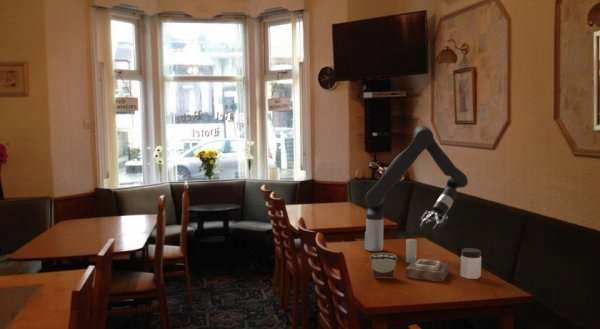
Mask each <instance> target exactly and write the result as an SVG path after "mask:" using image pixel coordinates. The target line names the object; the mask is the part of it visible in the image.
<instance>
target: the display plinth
mask: <svg viewBox="0 0 600 329" xmlns="http://www.w3.org/2000/svg"><path fill="white" fill-rule="evenodd" d="M449 270H450V264H449V263H446V262H445V263H444V262H442V261H440V260H433V259H432V260H429V259H425V258H424V259H422V258H419V259H416V260H414V261H413V262H412V263H409V265H408V266H407V267H405V277H406V278H410V279H415V280H416V279H417V280H422V281H423V280H426V281H433V282H440V283H442V282H444V280H445V279H446V277H447V276H448V274H449V272H450V271H449Z"/></svg>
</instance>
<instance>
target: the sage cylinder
mask: <svg viewBox="0 0 600 329" xmlns="http://www.w3.org/2000/svg"><path fill="white" fill-rule="evenodd" d="M417 241H418V240H416V239H413V238H407V239H406V240H405V263H407V264H411V263H412V262H413V261H414V260H417Z"/></svg>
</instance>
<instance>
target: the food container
mask: <svg viewBox="0 0 600 329" xmlns="http://www.w3.org/2000/svg"><path fill="white" fill-rule="evenodd" d="M369 260H371V271H372V278H376V279H377V278H378V279H380V278H381V279H383V278H385V279H389V278H390V279H394V278H395V274H396V272H395V271H396V265H397V261H398V257H397V254H394V253H391V252H375V253H372V254H370V257H369Z"/></svg>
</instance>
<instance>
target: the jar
mask: <svg viewBox="0 0 600 329" xmlns="http://www.w3.org/2000/svg"><path fill="white" fill-rule="evenodd" d="M481 255H482V251H481V250H480V249H479V248H472V247H465V248H462V249H461V256H460V277H463V278H465V279H469V280H470V279H471V280H478V279H480V277H481V276H482V256H481Z"/></svg>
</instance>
